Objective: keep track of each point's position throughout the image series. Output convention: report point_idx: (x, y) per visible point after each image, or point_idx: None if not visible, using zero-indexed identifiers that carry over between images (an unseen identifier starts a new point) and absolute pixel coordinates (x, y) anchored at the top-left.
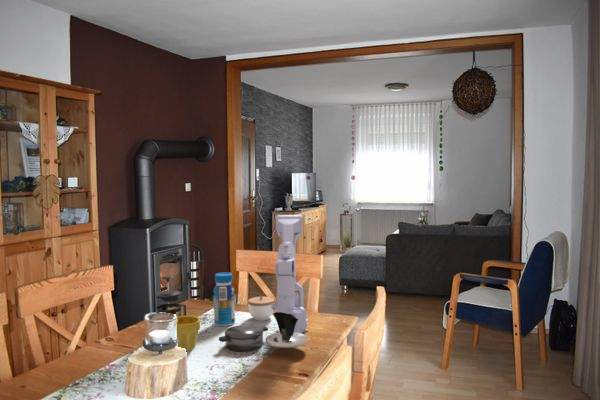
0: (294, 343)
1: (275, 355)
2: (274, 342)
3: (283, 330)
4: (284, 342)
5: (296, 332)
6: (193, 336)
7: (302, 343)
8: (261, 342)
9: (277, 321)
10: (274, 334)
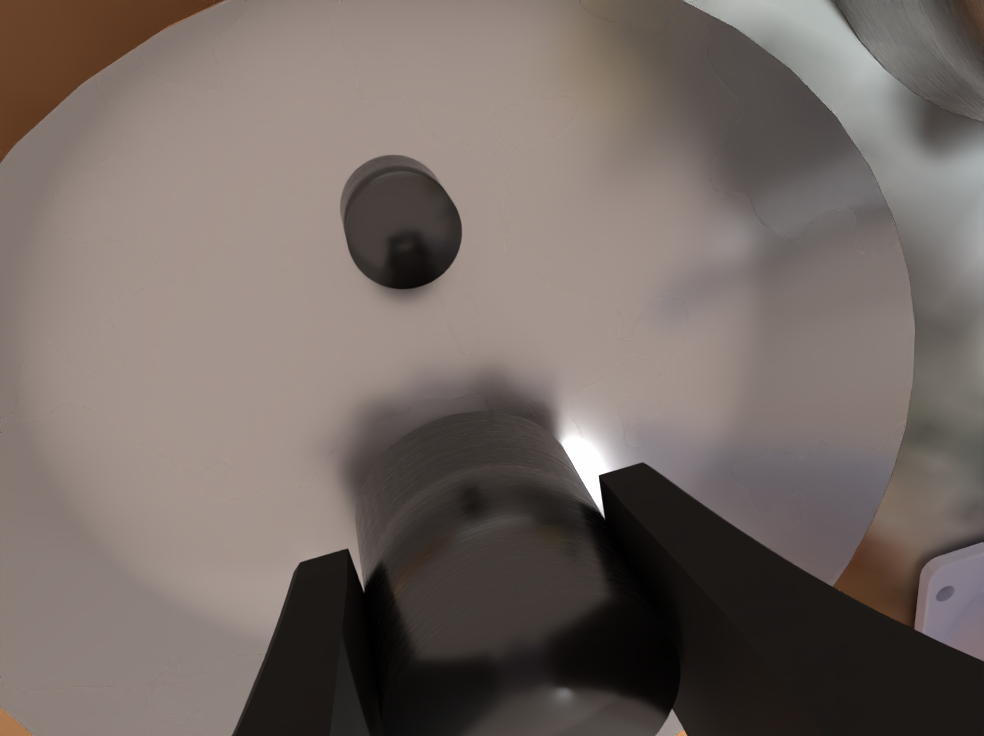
0: (7, 574)
1: None
2: (292, 134)
3: (456, 592)
4: (181, 386)
5: (670, 729)
6: None
7: (26, 708)
8: (906, 27)
9: (888, 671)
10: (842, 349)
